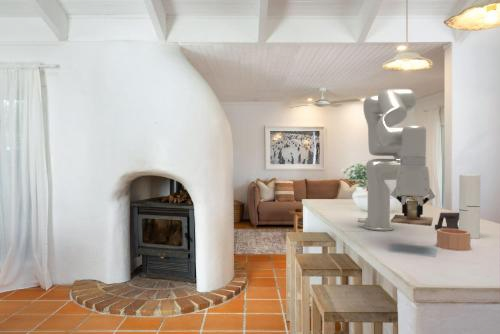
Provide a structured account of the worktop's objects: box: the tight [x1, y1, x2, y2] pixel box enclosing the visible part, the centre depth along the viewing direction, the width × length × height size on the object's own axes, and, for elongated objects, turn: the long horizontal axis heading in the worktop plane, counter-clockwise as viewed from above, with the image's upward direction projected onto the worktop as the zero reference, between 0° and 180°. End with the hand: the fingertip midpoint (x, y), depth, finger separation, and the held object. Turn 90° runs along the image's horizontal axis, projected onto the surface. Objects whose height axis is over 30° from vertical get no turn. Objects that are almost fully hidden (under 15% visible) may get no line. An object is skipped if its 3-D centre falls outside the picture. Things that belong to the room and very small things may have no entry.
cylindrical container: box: [458, 174, 481, 239], centre depth 142 cm, size 7×7×25 cm
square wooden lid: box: [390, 199, 434, 227], centre depth 119 cm, size 12×12×7 cm
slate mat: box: [387, 242, 438, 258], centre depth 119 cm, size 14×14×1 cm
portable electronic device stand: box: [434, 212, 459, 231], centre depth 154 cm, size 9×8×8 cm
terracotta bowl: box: [436, 229, 471, 252], centre depth 122 cm, size 10×10×6 cm
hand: (412, 215), depth 119 cm, fingers closed on square wooden lid, 3 cm apart
